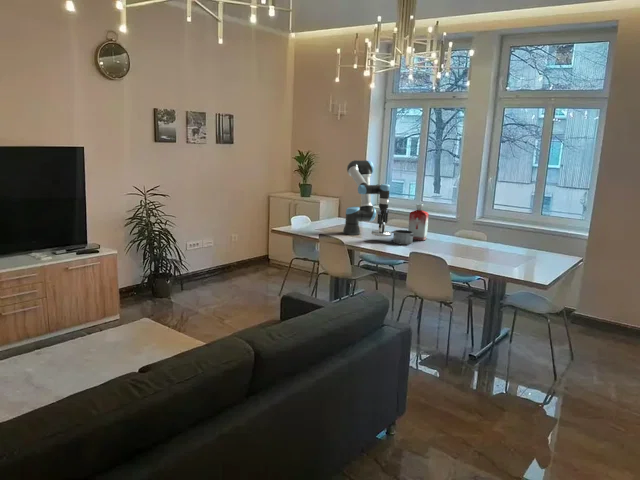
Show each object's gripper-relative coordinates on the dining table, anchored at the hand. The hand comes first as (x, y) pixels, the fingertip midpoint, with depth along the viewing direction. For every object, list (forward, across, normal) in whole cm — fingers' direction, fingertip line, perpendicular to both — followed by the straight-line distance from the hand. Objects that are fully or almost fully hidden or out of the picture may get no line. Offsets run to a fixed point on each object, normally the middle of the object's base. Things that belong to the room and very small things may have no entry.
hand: (381, 231), depth 422 cm
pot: (+8, +8, -16) cm, 20 cm away
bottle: (+8, +30, -17) cm, 36 cm away
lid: (+2, 0, 0) cm, 2 cm away
